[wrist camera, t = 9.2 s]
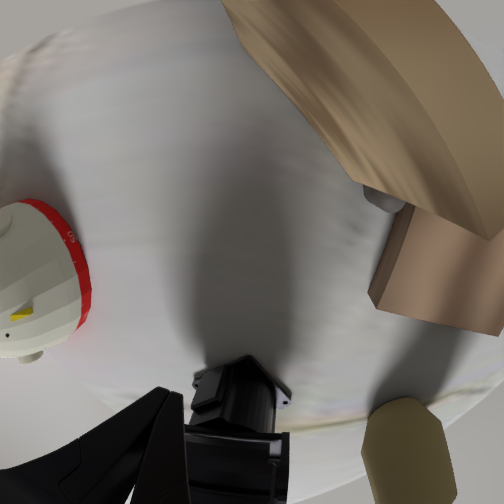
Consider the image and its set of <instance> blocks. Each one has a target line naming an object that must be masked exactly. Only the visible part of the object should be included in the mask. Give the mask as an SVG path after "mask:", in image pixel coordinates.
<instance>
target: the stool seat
mask: <svg viewBox="0 0 504 504" xmlns="http://www.w3.org/2000/svg"><path fill="white" fill-rule="evenodd" d="M368 294H369V296H370V298H371V300H372V302H373V304H374V306H375V308H376V309H378V310H382V311H386V312H390V313H394V314H398V315H403V316H407V317H411V318H415V319H420V320H424V321H428V322H433V323H437V324H442V325H446V326H450V327H455V328H459V329H464V330H469V331H473V332H478V333H483V334H487V335H492V336H497V337H498V336H499V335H500V333H501V331H502V329H503V327H504V229H503V230H502V231H501V232H499V233H498V234H497V235H496V236H495V237H494V238H493V239H492V240H491V241H490V242H489V241H487V240H485V239H484V238H482V237H480V236H478V235H476V234H474V233H472V232H470V231H468V230H466V229H464V228H462V227H460V226H458V225H456V224H454V223H452V222H450V221H448V220H446V219H444V218H442V217H439V216H437V215H435V214H433V213H431V212H429V211H426V210H424V209H422V208H420V207H417V206H415V205H413V204H411V203H408V202H405V205H404V206H403V208H402V209H401V210H399V211H398V212H397V215H396V218H395V221H394V224H393V227H392V230H391V233H390V235H389V238H388V241H387V244H386V247H385V249H384V252H383V255H382V258H381V260H380V263H379V265H378V268H377V271H376V273H375V276H374V278H373V281H372V283H371V286H370V288H369V290H368Z"/></svg>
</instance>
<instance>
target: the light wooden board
mask: <svg viewBox="0 0 504 504" xmlns="http://www.w3.org/2000/svg"><path fill="white" fill-rule="evenodd" d="M221 1H222V3H223V5H224V8H225V10H226V12H227V14H228V16H229V18H230V20H231V23H232V25H233V27H234V29H235V31H236V34H237V36H238V38H239V40H240V43H241V45H242V47H243V49H244V50H245V51H246V52H247V53H248V54H249V55H250V56H251V57H252V58H253V59H254V61H255V62H256V63H257V64H258V65H259V66H260V67H261V68H262V69H263V70H264V71H265V72H266V73H267V74H268V75H269V77H270V78H271V79H272V80H273V81H274V82H275V83H276V84H277V85H278V87H279V88H280V89H281V90H282V91H283V92H284V93H285V94H286V96H287V97H288V98H289V99H290V100H291V101H292V103H293V104H294V105H295V106H296V107H297V109H298V110H299V111H300V112H301V113H302V115H303V116H304V117H305V118H306V120H307V121H308V122H309V123H310V124H311V126H312V127H313V128H314V130H315V131H316V132H317V133H318V135H319V136H320V137H321V138H322V140H323V141H324V142H325V144H326V145H327V146H328V148H329V149H330V150H331V152H332V153H333V154H334V156H335V157H336V158H337V160H338V161H339V163H340V164H341V165H342V167H343V168H344V170H345V171H346V172H347V174H348V175H349V177H350V178H351V180H353V181H356V182H358V183H361V184H364V195H365V197H366V199H367V200H368V201H369V202H370V203H372V204H374V205H375V206H377V207H379V208H381V209H382V210H384V211H386V212H388V213H395V212H398V211H399V210H401V209H402V208H403V206H404V205H405V202H408V203H411V204H413V205H415V206H417V207H420V208H422V209H424V210H426V211H429V212H431V213H433V214H435V215H437V216H439V217H442V218H444V219H446V220H448V221H450V222H452V223H454V224H456V225H458V226H460V227H462V228H464V229H466V230H468V231H470V232H472V233H474V234H476V235H478V236H480V237H482V238H484V239H485V240H487V241H489V242H490V241H491V240H492V239H493V238H494V237H495V236H496V235H497V234H498V233H499V232H501V231H502V230H503V229H504V99H503V98H502V96H501V94H500V92H499V90H498V88H497V87H496V85H495V83H494V81H493V80H492V78H491V76H490V75H489V73H488V71H487V70H486V68H485V66H484V65H483V63H482V62H481V60H480V59H479V57H478V56H477V54H476V53H475V51H474V50H473V48H472V47H471V45H470V44H469V43H468V41H467V40H466V38H465V37H464V36H463V34H462V33H461V32H460V30H459V29H458V28H457V26H456V25H455V24H454V23H453V22H452V20H451V19H450V18H449V16H448V15H447V14H446V13H445V12H444V11H443V9H442V8H441V7H440V6H439V5H438V4H437V3H436V1H435V0H221Z"/></svg>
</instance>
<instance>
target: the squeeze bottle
mask: <svg viewBox="0 0 504 504" xmlns="http://www.w3.org/2000/svg"><path fill="white" fill-rule="evenodd" d="M361 455H362V458H363V461H364V465H365V468H366V472H367V475H368V479H369V482H370V486H371V489H372V493H373V496H374V500H375V504H452V503H453V502H454V500H455V499H456V496H457V488H456V483H455V478H454V472H453V468H452V463H451V459H450V454H449V450H448V446H447V442H446V438H445V434H444V431H443V427H442V423H441V421H440V420H439V419H438V418H437V417H436V416H435V415H433V414H432V413H431V412H430V411H429V410H428V409H427V408H426V407H425V406H424V405H422V404H421V403H420V402H419V401H418V400H417V399H415V398H409V397H405V398H398V399H395V400H392V401H390V402H387V403H385V404H384V405H382V406H381V407H379V408H378V409H376V410H375V411H374V412H373V413H372V415H371V416H370V417H369V420H368V423H367V427H366V432H365V436H364V441H363V445H362V450H361Z"/></svg>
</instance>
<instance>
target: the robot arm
mask: <svg viewBox="0 0 504 504" xmlns="http://www.w3.org/2000/svg"><path fill="white" fill-rule="evenodd" d="M246 361H250V362H246ZM198 384H199V385H198ZM192 386H193V387H194V388H195V389H196V393H195V396H194V398H193V401H192V404H191V409H192V410H193V414H192V416H191V419H190V422H189V425H188V424H184V405H183V395H182V394H180V393H177V392H174V391H171V392H170V390H168V389H165V388H163V387H156V388H154V389H153V390H151V391H150V392H148V393H147V394H146V395H144V396H143V397H141V398H140V399H138V400H137V401H135V402H134V403H132V404H131V405H129V406H128V407H126V408H124V409H123V410H121V411H120V412H118V413H117V414H115V415H114V416H112V417H111V418H109V419H107V420H106V421H104V422H103V423H101V424H100V425H98V426H97V427H95V428H93V429H92V430H90V431H88V432H87V433H85V434H84V435H82V436H80V437H79V438H77V439H75V440H74V441H72V442H70V443H69V444H67V445H65V446H63V447H61V448H59V449H58V450H56V451H53V452H51V453H49V454H47V455H44V456H42V457H39V458H37V459H34V460H32V461H29V462H26V463H24V464H21V465H18V466H15V467H12V468H8V469H1V470H0V504H125V502H126V500H127V498H128V496H129V494H130V493H131V491H132V489H133V487H134V485H135V487H134V491H133V494H132V498H131V501H130V504H286V502H287V492H288V480H289V438H290V432H282V433H274V432H275V419H276V410H279V409H282V408H284V407H287V406H289V405H290V404H291V398H290V397H289V396H288V394H287V393H286V392H285V391H284V390H283V389H282V388H281V387H280V386H279V385H278V384H277V383H276V382H275V381H274V380H273V378H272V377H271V376H270V375H269V374H268V373H267V372H266V371H265V370H264V369H263V368H262V366H261V365H260V364H259V363H258V362H257V361H256V360H255V359H254V358H253V357H252V356H250V355H246V356H244V357H242V358H240V359H237V360H235V361H233V362H231V363H229V364H224V365H221V366H219V367H217V368H215V369H213V370H211V371H209V372H207V373H204V374H203V375H202V376H201V377H199V378H197V379H195V380H194V381H193V384H192Z"/></svg>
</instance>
